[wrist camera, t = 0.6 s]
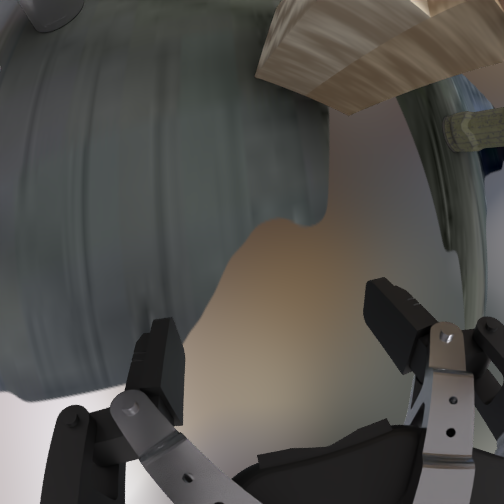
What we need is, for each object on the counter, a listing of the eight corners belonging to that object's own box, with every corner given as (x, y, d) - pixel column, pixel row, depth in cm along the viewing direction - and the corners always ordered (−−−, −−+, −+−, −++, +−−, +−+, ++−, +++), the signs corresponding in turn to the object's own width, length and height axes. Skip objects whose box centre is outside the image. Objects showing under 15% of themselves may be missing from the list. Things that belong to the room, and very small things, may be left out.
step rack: (276, 8, 33) (385, -115, 3) (356, 46, 38) (491, -27, 8) (254, 76, 34) (407, -81, 4) (348, 115, 39) (532, 55, 9)
